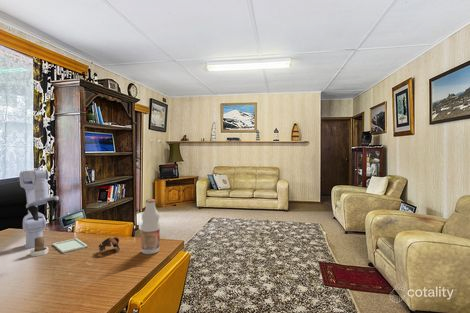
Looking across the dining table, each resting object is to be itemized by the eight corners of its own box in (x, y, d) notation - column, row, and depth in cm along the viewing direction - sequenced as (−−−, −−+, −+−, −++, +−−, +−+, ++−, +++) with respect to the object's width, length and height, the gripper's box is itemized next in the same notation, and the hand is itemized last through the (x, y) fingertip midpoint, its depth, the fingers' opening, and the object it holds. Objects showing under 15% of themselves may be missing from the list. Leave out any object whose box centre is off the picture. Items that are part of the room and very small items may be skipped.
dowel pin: (33, 253, 134) (33, 238, 134) (43, 251, 137) (43, 236, 137) (35, 255, 132) (35, 239, 132) (45, 253, 135) (45, 237, 135)
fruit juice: (137, 251, 139) (138, 199, 139) (153, 246, 146) (153, 197, 146) (147, 256, 133) (147, 202, 133) (163, 251, 140) (163, 199, 140)
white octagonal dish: (29, 254, 134) (29, 249, 134) (45, 250, 140) (45, 245, 140) (32, 258, 129) (32, 253, 129) (49, 254, 135) (49, 249, 135)
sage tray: (52, 245, 146) (52, 243, 146) (76, 240, 155) (76, 238, 155) (62, 254, 135) (62, 251, 135) (87, 248, 144) (87, 245, 144)
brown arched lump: (116, 255, 135) (107, 243, 133) (101, 262, 136) (92, 250, 135) (126, 242, 146) (118, 230, 144) (113, 248, 148) (105, 236, 146)
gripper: (20, 195, 128) (23, 221, 124) (51, 186, 130) (54, 212, 126) (30, 197, 135) (33, 223, 131) (59, 189, 137) (62, 213, 133)
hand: (44, 217), depth 129 cm, fingers open, 7 cm apart
